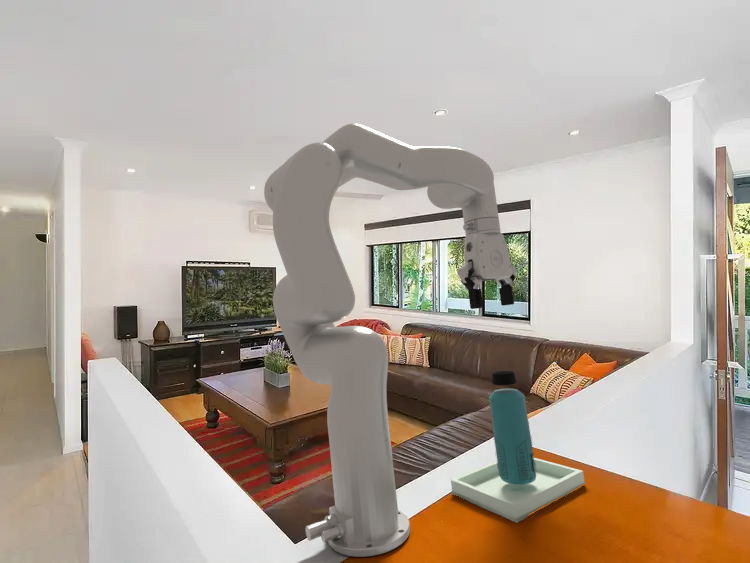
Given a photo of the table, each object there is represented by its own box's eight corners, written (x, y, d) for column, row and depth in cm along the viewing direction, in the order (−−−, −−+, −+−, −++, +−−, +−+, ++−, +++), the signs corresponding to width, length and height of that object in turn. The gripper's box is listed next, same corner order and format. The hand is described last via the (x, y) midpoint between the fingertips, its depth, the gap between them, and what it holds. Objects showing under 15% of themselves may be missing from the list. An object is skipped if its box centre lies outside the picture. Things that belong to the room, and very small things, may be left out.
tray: (516, 522, 60) (514, 505, 61) (452, 494, 72) (450, 479, 72) (585, 485, 70) (582, 470, 70) (518, 465, 82) (516, 452, 82)
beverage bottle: (541, 494, 67) (525, 372, 69) (500, 494, 69) (485, 375, 71) (535, 478, 74) (520, 367, 76) (497, 478, 75) (483, 370, 77)
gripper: (466, 224, 82) (477, 308, 81) (521, 226, 91) (532, 302, 90) (441, 233, 88) (451, 311, 87) (496, 234, 98) (505, 305, 96)
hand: (492, 306), depth 88 cm, fingers open, 9 cm apart
